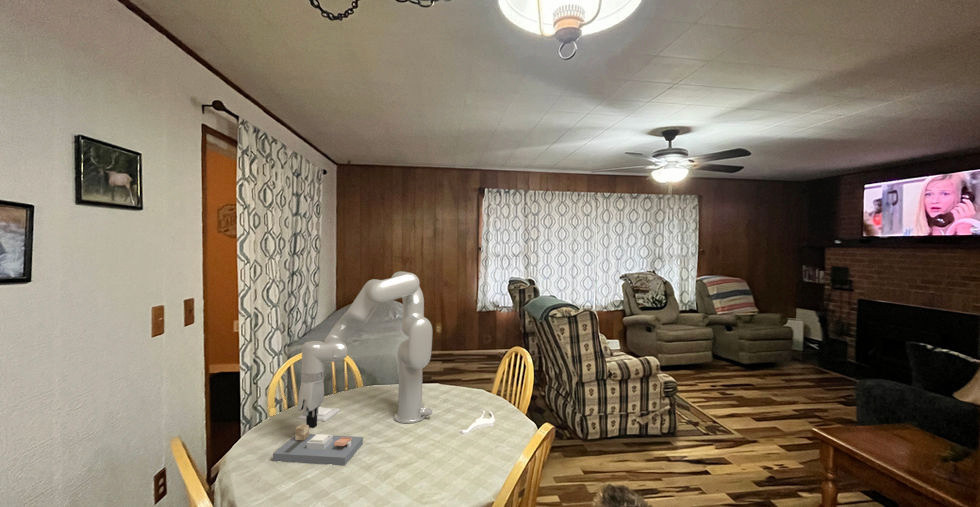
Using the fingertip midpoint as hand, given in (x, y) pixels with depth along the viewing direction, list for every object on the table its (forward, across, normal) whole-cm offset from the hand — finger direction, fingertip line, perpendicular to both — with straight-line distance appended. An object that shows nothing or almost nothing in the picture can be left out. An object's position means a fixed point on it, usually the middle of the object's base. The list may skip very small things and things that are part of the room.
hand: (311, 426), depth 142 cm
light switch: (+5, -20, -8) cm, 22 cm away
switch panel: (+4, +9, +8) cm, 13 cm away
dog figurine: (+4, -18, +59) cm, 62 cm away
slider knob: (+1, +6, 0) cm, 7 cm away
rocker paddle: (0, +9, +16) cm, 19 cm away
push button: (+1, +9, +8) cm, 13 cm away
